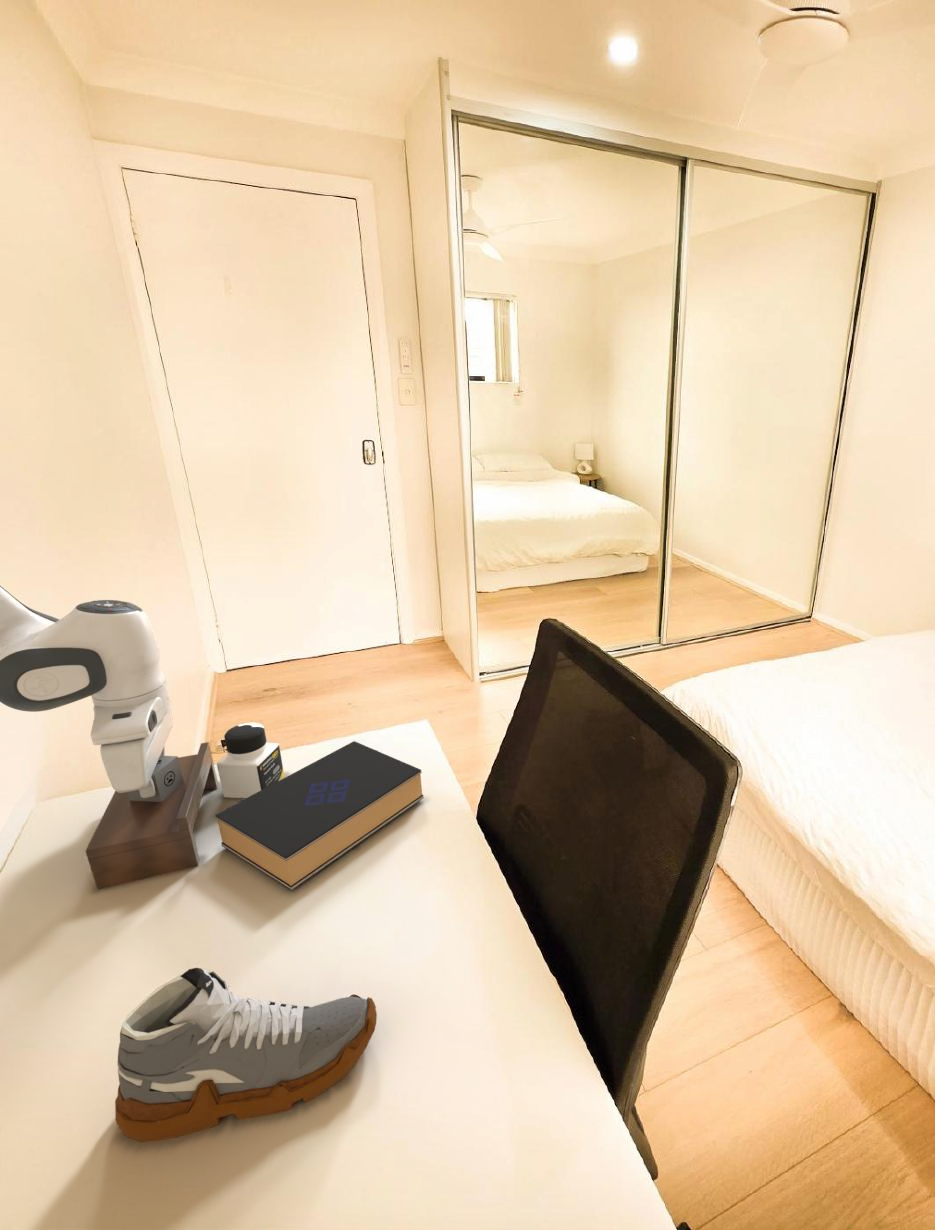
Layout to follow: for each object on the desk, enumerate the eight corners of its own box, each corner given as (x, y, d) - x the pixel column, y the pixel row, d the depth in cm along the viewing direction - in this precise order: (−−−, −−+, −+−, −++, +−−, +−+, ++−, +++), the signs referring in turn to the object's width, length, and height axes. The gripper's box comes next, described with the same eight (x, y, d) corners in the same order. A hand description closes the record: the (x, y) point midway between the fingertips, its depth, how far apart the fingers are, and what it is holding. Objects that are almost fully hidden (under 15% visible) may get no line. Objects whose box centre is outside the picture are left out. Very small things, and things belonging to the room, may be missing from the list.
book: (222, 850, 94) (214, 814, 92) (357, 771, 114) (353, 740, 112) (292, 895, 86) (285, 857, 84) (424, 801, 107) (421, 769, 104)
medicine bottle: (263, 799, 106) (252, 740, 101) (223, 798, 106) (210, 738, 101) (285, 775, 112) (275, 719, 108) (247, 774, 112) (235, 717, 108)
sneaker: (376, 1089, 62) (361, 983, 57) (102, 1163, 56) (57, 1050, 51) (382, 1007, 71) (369, 908, 66) (144, 1062, 64) (109, 957, 59)
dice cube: (183, 782, 98) (177, 756, 96) (161, 801, 93) (154, 774, 92) (153, 781, 98) (146, 754, 96) (129, 800, 93) (121, 773, 92)
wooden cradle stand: (97, 891, 85) (81, 839, 82) (137, 800, 104) (124, 755, 101) (198, 867, 90) (186, 817, 87) (218, 785, 109) (208, 741, 106)
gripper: (126, 679, 98) (145, 752, 103) (85, 741, 81) (111, 826, 85) (173, 673, 101) (190, 745, 105) (143, 732, 83) (165, 815, 88)
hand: (154, 782), depth 95 cm, fingers closed on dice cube, 5 cm apart
